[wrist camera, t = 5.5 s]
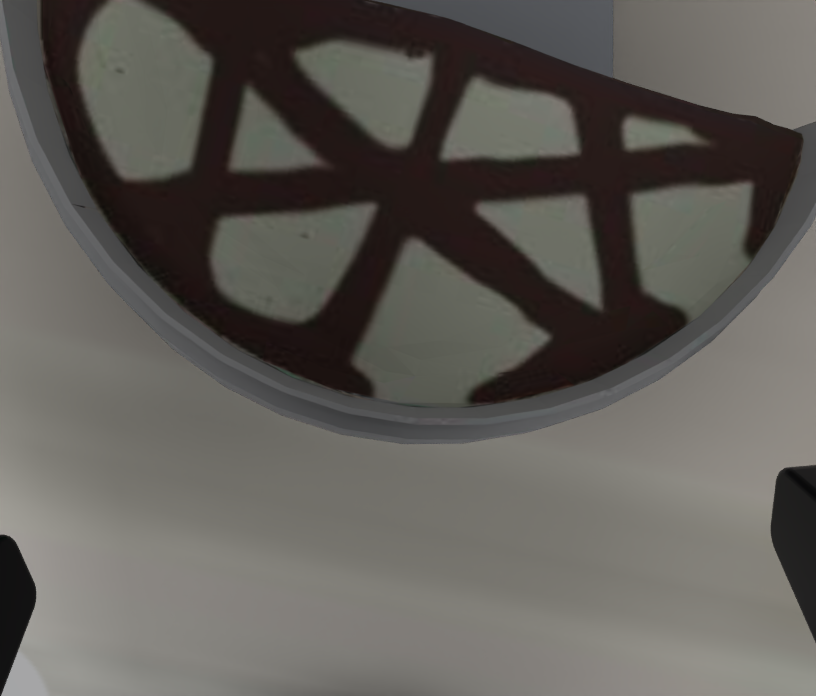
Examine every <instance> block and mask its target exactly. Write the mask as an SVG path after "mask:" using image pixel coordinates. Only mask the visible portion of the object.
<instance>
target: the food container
mask: <svg viewBox="0 0 816 696" xmlns="http://www.w3.org/2000/svg"><path fill="white" fill-rule="evenodd" d="M0 39H1V45H2V51H3V57H4V63H5V69H6V76H7V82H8V88H9V93H10V96H11V99H12V102H13V105H14V108H15V111H16V114H17V117H18V120H19V123H20V126H21V129H22V132H23V135H24V138H25V141H26V144H27V147H28V150H29V153H30V156H31V159H32V162H33V164H34V166H35V168H36V170H37V171H38V173H39V175H40V177H41V179H42V181H43V183H44V185H45V187H46V189H47V191H48V193H49V195H50V197H51V199H52V201H53V203H54V204H55V206H56V208H57V210H58V212H59V214H60V216H61V218H62V220H63V222H64V224H65V226H66V227H67V228H68V230H69V231H70V232H71V234H72V235H73V237H74V238H75V239H76V241H77V242H78V243H79V245H80V246H81V248H82V249H83V250H84V252H85V253H86V254H87V256H88V257H89V258H90V260H91V261H92V263H93V264H94V265H95V267H96V268H97V269H98V271H99V272H100V274H101V275H102V276H103V278H104V279H105V280H106V282H107V283H108V284H109V285H110V286H111V287H112V288H113V289H114V291H115V292H116V293H117V294H118V295H119V296H120V297H121V298H122V299H123V300H124V301H125V302H126V303H127V304H128V305H129V306H130V307H131V308H132V309H133V310H134V311H135V312H136V313H137V314H138V315H139V316H140V317H141V318H142V319H143V320H144V321H145V322H146V323H147V324H148V325H149V326H150V327H151V328H152V329H153V330H154V331H155V332H156V333H157V334H158V335H159V336H160V337H161V338H162V339H163V340H164V341H165V342H166V343H167V344H168V345H169V346H170V347H171V348H172V349H173V350H175V351H176V352H177V353H179V354H180V355H182V356H183V357H184V358H186V359H187V360H189V361H190V362H191V363H193V364H194V365H195V366H197V367H198V368H200V369H201V370H202V371H204V372H205V373H207V374H208V375H209V376H211V377H212V378H213V379H215V380H216V381H218V382H219V383H220V384H222V385H223V386H225V387H226V388H228V389H230V390H232V391H234V392H236V393H238V394H240V395H242V396H244V397H246V398H248V399H250V400H252V401H254V402H256V403H258V404H260V405H262V406H264V407H266V408H268V409H270V410H272V411H274V412H276V413H278V414H280V415H282V416H285V417H288V418H291V419H294V420H297V421H301V422H304V423H307V424H310V425H313V426H316V427H319V428H322V429H326V430H329V431H332V432H335V433H338V434H341V435H348V436H354V437H361V438H367V439H374V440H380V441H387V442H393V443H400V444H455V443H468V442H474V441H480V440H486V439H493V438H499V437H505V436H511V435H517V434H522V433H526V432H530V431H534V430H538V429H542V428H545V427H548V426H551V425H554V424H557V423H560V422H563V421H566V420H570V419H573V418H576V417H579V416H582V415H585V414H588V413H591V412H594V411H597V410H600V409H603V408H605V407H607V406H609V405H611V404H613V403H615V402H617V401H618V400H620V399H622V398H624V397H626V396H628V395H630V394H632V393H634V392H636V391H638V390H640V389H642V388H644V387H646V386H648V385H650V384H652V383H654V382H656V381H658V380H660V379H661V378H662V377H664V376H665V375H666V374H668V373H669V372H670V371H672V370H673V369H675V368H676V367H677V366H679V365H680V364H681V363H683V362H684V361H686V360H687V359H688V358H690V357H691V356H692V355H694V354H695V353H697V352H698V351H699V350H701V349H702V348H703V347H705V346H706V345H708V344H709V343H710V342H712V341H713V340H714V339H715V338H716V337H717V336H718V335H719V334H720V333H721V332H722V331H723V330H724V329H725V328H726V327H727V326H728V325H729V324H730V323H731V322H732V321H733V320H734V319H735V318H736V317H737V316H738V315H739V314H740V313H741V312H742V311H743V310H744V309H745V308H746V307H747V306H748V305H749V304H750V303H751V302H752V301H753V300H754V299H755V298H756V297H757V295H758V294H759V292H760V291H761V290H762V289H763V288H764V287H765V286H766V285H767V284H768V283H769V282H770V281H771V280H772V279H773V277H774V276H775V274H776V273H777V272H778V270H779V269H780V268H781V266H782V265H783V263H784V262H785V261H786V259H787V258H788V257H789V255H790V254H791V252H792V251H793V250H794V248H795V247H796V246H797V244H798V243H799V241H800V240H801V239H802V237H803V236H804V235H805V233H806V232H807V230H808V229H809V228H810V226H811V225H812V223H813V221H814V219H815V217H816V122H813V123H811V124H808V125H805V126H802V127H799V128H796V129H793V130H790V129H788V128H784V127H780V126H777V125H773V124H771V123H769V122H767V121H765V120H762V119H760V118H758V117H756V116H749V115H740V114H732V113H728V112H724V111H720V110H716V109H712V108H708V107H704V106H700V105H697V104H693V103H690V102H687V101H684V100H680V99H677V98H674V97H671V96H668V95H664V94H661V93H658V92H655V91H651V90H648V89H645V88H642V87H638V86H635V85H632V84H629V83H626V82H623V81H620V80H617V79H614V78H611V77H608V76H605V75H603V74H600V73H597V72H594V71H591V70H588V69H585V68H582V67H579V66H576V65H573V64H571V63H568V62H565V61H563V60H560V59H558V58H555V57H553V56H550V55H547V54H545V53H542V52H540V51H537V50H534V49H532V48H529V47H527V46H524V45H522V44H519V43H516V42H514V41H511V40H508V39H505V38H502V37H499V36H497V35H494V34H491V33H488V32H485V31H483V30H480V29H477V28H474V27H471V26H468V25H466V24H464V23H461V22H458V21H455V20H452V19H449V18H446V17H441V16H437V15H433V14H429V13H425V12H421V11H416V10H412V9H408V8H404V7H400V6H395V5H391V4H387V3H383V2H378V1H373V0H0Z"/></svg>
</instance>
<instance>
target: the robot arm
mask: <svg viewBox="0 0 816 696" xmlns="http://www.w3.org/2000/svg"><path fill="white" fill-rule="evenodd" d="M771 537H772V542H773V546H774V548H775V551H776V553H777V556H778V558H779V560H780V562H781V565H782V567H783V569H784V572H785V574H786V576H787V578H788V581H789V583H790V585H791V588H792V590H793V592H794V594H795V597H796V599H797V601H798V604H799V606H800V608H801V610H802V613H803V615H804V617H805V620H806V622H807V624H808V626H809V629H810V631H811V633H812V636H813V638H814V640H815V642H816V465H811V466H799V467H788V468H784V469H783V470H781V471H780V472H779V474H778V476H777V479H776V485H775V494H774V502H773V511H772V519H771ZM35 602H36V587H35V583H34V581H33V579H32V576H31V574H30V572H29V570H28V568H27V565H26V563H25V561H24V559H23V557H22V554H21V552H20V550H19V548H18V546H17V544H16V542H15V541H14V540H13V539H12V538H11V537H10V536H7V535H0V696H1V694H2V692H3V689H4V686H5V684H6V681H7V678H8V676H9V673H10V670H11V668H12V665H13V663H14V660H15V657H16V655H17V652H18V649H19V647H20V644H21V641H22V639H23V636H24V633H25V631H26V628H27V626H28V623H29V620H30V618H31V615H32V612H33V610H34V607H35Z"/></svg>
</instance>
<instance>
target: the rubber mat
mask: <svg viewBox="0 0 816 696" xmlns="http://www.w3.org/2000/svg"><path fill="white" fill-rule="evenodd" d="M373 1H378V2H383V3H387V4H391V5H395V6H400V7H404V8H408V9H412V10H416V11H421V12H425V13H429V14H433V15H437V16H441V17H446V18H449V19H452V20H455V21H458V22H461V23H464V24H466V25H468V26H471V27H474V28H477V29H480V30H483V31H485V32H488V33H491V34H494V35H497V36H499V37H502V38H505V39H508V40H511V41H514V42H516V43H519V44H522V45H524V46H527V47H529V48H532V49H534V50H537V51H540V52H542V53H545V54H547V55H550V56H553V57H555V58H558V59H560V60H563V61H565V62H568V63H571V64H573V65H576V66H579V67H582V68H585V69H588V70H591V71H594V72H597V73H600V74H603V75H605V76H608V77H611V78H613V0H373Z"/></svg>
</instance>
